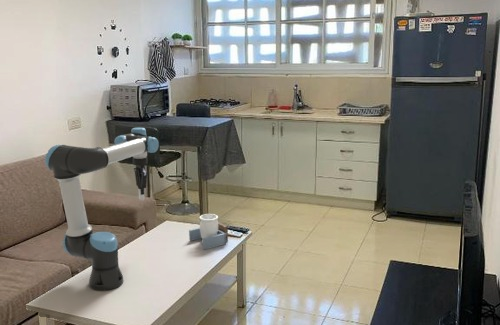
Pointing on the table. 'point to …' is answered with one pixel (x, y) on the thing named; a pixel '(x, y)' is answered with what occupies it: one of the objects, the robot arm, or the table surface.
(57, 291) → the table surface
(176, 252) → the table surface
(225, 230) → the block
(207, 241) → the grey shallow box
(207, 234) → the jar
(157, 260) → the table surface
